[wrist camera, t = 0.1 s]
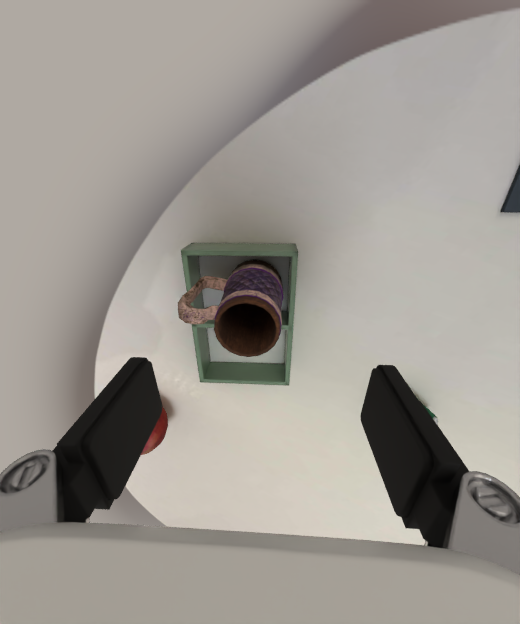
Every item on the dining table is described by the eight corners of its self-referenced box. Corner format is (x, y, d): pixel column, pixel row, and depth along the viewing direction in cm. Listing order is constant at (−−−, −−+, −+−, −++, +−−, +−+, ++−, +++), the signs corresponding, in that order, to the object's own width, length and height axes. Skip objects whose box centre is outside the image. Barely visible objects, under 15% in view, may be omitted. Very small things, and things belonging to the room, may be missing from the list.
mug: (290, 268, 31) (299, 311, 20) (271, 315, 34) (270, 373, 23) (212, 241, 30) (178, 270, 19) (200, 292, 33) (164, 342, 22)
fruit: (130, 383, 41) (90, 437, 32) (177, 394, 42) (151, 450, 33) (130, 415, 45) (94, 472, 36) (173, 425, 45) (148, 483, 36)
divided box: (191, 242, 30) (180, 250, 26) (295, 243, 29) (298, 251, 26) (206, 364, 38) (200, 382, 35) (287, 367, 38) (289, 385, 34)
